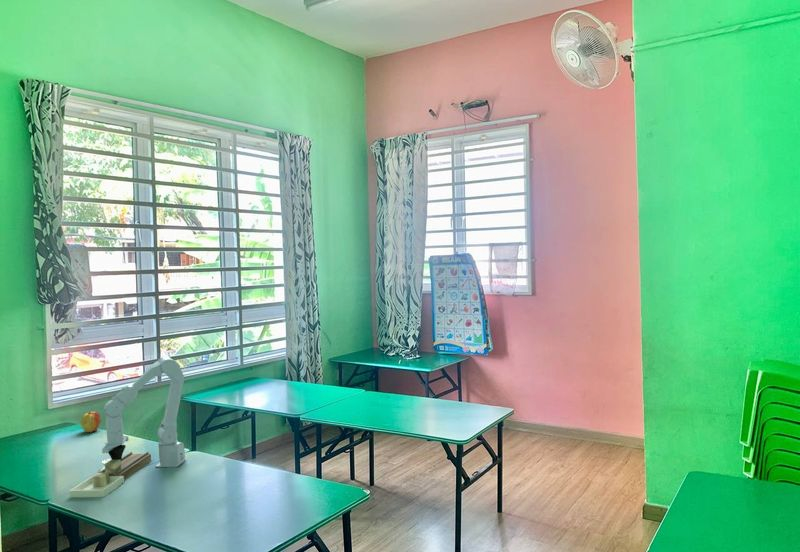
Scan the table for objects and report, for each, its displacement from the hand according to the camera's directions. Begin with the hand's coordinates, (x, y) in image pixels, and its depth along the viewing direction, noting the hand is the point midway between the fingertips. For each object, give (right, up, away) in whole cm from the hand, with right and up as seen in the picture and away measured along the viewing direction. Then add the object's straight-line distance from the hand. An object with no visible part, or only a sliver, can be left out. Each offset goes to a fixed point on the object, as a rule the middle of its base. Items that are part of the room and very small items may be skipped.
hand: (117, 464), depth 225 cm
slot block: (+1, -4, +5) cm, 7 cm away
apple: (-44, -4, +63) cm, 77 cm away
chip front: (-1, -2, -8) cm, 8 cm away
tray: (-1, -5, -13) cm, 14 cm away
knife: (-12, -5, +11) cm, 17 cm away
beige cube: (0, -2, -3) cm, 4 cm away
